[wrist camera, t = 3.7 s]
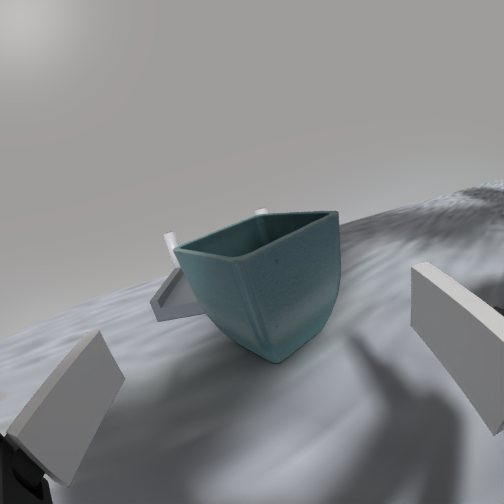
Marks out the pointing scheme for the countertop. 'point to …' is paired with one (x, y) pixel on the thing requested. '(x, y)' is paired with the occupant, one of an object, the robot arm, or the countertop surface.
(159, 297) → the tray
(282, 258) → the flower pot
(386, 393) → the countertop surface
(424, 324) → the robot arm
